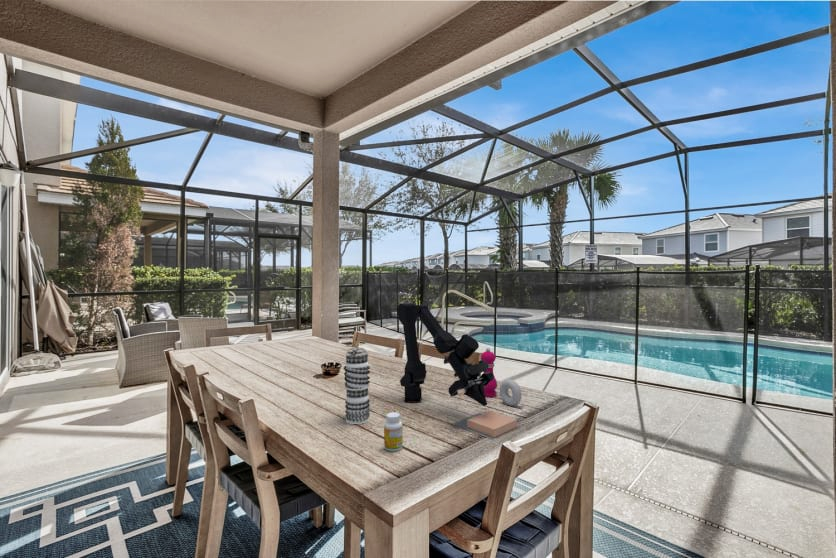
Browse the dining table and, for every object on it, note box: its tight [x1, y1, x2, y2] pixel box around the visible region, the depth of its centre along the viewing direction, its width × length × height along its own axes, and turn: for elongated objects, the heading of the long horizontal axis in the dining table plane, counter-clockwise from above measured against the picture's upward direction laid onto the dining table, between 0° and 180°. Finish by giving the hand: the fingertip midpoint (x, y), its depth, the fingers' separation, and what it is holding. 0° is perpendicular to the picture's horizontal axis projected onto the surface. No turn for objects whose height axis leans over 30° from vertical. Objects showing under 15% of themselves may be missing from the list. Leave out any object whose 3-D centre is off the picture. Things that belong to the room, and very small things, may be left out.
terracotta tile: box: [467, 410, 518, 438], centre depth 124 cm, size 3×12×11 cm
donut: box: [499, 378, 523, 407], centre depth 146 cm, size 10×4×10 cm, turn 34°
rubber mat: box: [452, 412, 521, 441], centre depth 126 cm, size 17×15×1 cm
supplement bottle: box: [383, 411, 404, 452], centre depth 111 cm, size 5×5×10 cm
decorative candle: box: [343, 347, 371, 425], centre depth 133 cm, size 9×9×25 cm
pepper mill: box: [480, 347, 498, 398], centre depth 159 cm, size 7×7×20 cm
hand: (485, 405), depth 126 cm, fingers closed
